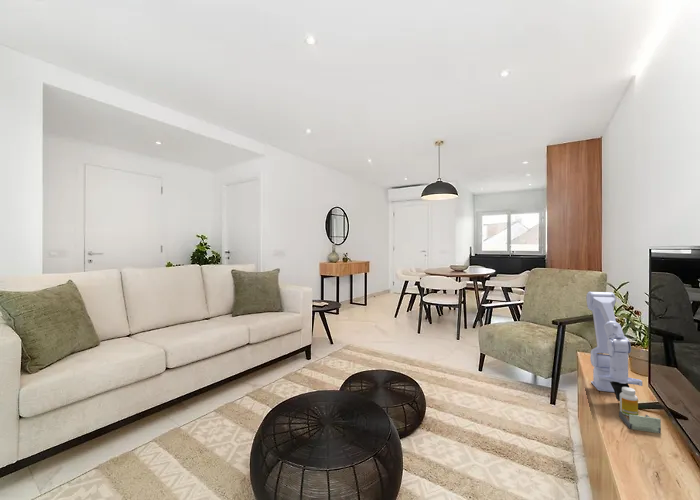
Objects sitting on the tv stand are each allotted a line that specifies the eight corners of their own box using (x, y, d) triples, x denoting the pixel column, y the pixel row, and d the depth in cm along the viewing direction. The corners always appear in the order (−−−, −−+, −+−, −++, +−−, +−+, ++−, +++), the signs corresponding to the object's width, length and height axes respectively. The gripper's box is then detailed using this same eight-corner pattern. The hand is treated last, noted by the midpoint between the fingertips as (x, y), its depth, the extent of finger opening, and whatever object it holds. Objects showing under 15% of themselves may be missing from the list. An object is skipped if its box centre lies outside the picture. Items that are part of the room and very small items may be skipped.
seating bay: (619, 416, 122) (618, 403, 121) (647, 420, 118) (647, 407, 118) (629, 428, 113) (629, 415, 113) (660, 433, 110) (660, 419, 110)
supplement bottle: (641, 418, 120) (641, 392, 120) (625, 416, 121) (625, 391, 121) (632, 410, 125) (631, 386, 125) (616, 409, 126) (616, 385, 126)
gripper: (601, 369, 130) (601, 401, 130) (646, 373, 125) (646, 407, 125) (595, 362, 136) (595, 394, 137) (637, 366, 131) (637, 399, 131)
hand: (619, 400), depth 131 cm, fingers closed
